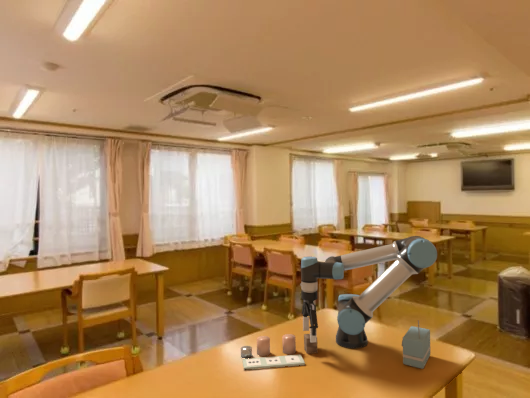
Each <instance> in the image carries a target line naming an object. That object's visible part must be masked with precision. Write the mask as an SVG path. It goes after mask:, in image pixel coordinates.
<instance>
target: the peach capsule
mask: <svg viewBox="0 0 530 398" xmlns="http://www.w3.org/2000/svg"><path fill="white" fill-rule="evenodd" d="M296 343H297V342H296V335H294V334H292V333H286V334H283V335H282V353H283V354H284V355H288V354H289V355H295V354H296V352H297V350H296V346H297V345H296Z"/></svg>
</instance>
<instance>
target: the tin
mask: <svg viewBox="0 0 530 398" xmlns="http://www.w3.org/2000/svg"><path fill="white" fill-rule="evenodd" d="M241 357H242V358H245V359H248V358H251V357H252V358H253V347H252V346H250V345H243V346H241V347H240V358H241ZM242 358H241V359H242Z"/></svg>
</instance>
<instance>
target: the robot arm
mask: <svg viewBox="0 0 530 398" xmlns="http://www.w3.org/2000/svg"><path fill="white" fill-rule="evenodd" d="M437 259H438V251H437V248H436V246H435V245H434V244H433V243H432V241H430V240H429V239H427V238H424V237H423V236H421V235H420V236H419V235H412V236H408V237H404V238H401V239H398V240H394V241H393V242H392V243H391V244H386V245H381V246H376V247H372V248H368V249H363V250H359V251H355V252H350V253H345V254H342V255H337V256H333V255H331V256H328V257H327V258H326V259H325V260H324V261H318V258H317V257H316V256H303V257H302V258H301V260H300V261H301V262H300V263H301V264H300V278H301V279H300V280H301V283H299V286H300V287H301V291H300V297H301V299H302V301H303V302H302V307H301V308H302V309H301V315H302V331H303V332H304V331H305V332H307V331H309V334H310V342H311V343H312V342H317V343H318V337H317V329H318V328H319V325H318V323H319V322H318V317H317V316H318V315H317V305H316V304H315V303H314V301H317V300H318V286H319V285H318V279H325V280H326V279H327V280H335V281H336V280H342V279H344V272H345V271H348V270H354V269H358V268H363V267H367V266H368V267H369V266H371V265H373V266H374V265H377V264H381V263H388V262H391V261H394V262H392V263H391V264H390V265H389V266H388V267H387V268H386V269H385V270H384V272H382V273H381V274H380V275H379V276H378V277H377V278H376V279H375V280H373V282H372V283H371V284H370V285H369V286H368V287H367V288H365V290H364V291H362V293H360V294H354V293H353V294H352V293H345V294H344V293H343V294H342V293H341V294H339V296H338V299H337V301H338V309H337V310H338V311H337V317H336V318H337V319H336V320H337V324H338V328H337V330H336V334H335V342H336V344H337V345H339V346H341V347H344V348H346V349H347V348H348V349H362V348H364V347H367V345H368V343H369V342H368V336H367V333H366V331H365V327H366V324H367V323H368V322H369V321H370V320H371V319H372V318H374V317H373V315H374V311H375V310H376V309H377V308H378V307H379V306H381V305H382V304H383V303H384V302H385V301H386V300H387V299H388V298H389V297H390V296H391V295H392V294H393V293H394V292H395V291H397V289H398V288H400V287H401V286H402V284H403V283H405V282H406V281H407V280H408V279H409V278H410V277H411V276H412V275H418V274H420V273H421V272H422V271H423V270H424V269H426V268H429V267H431V266H433V265H434V264H435V263H436V261H437Z"/></svg>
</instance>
